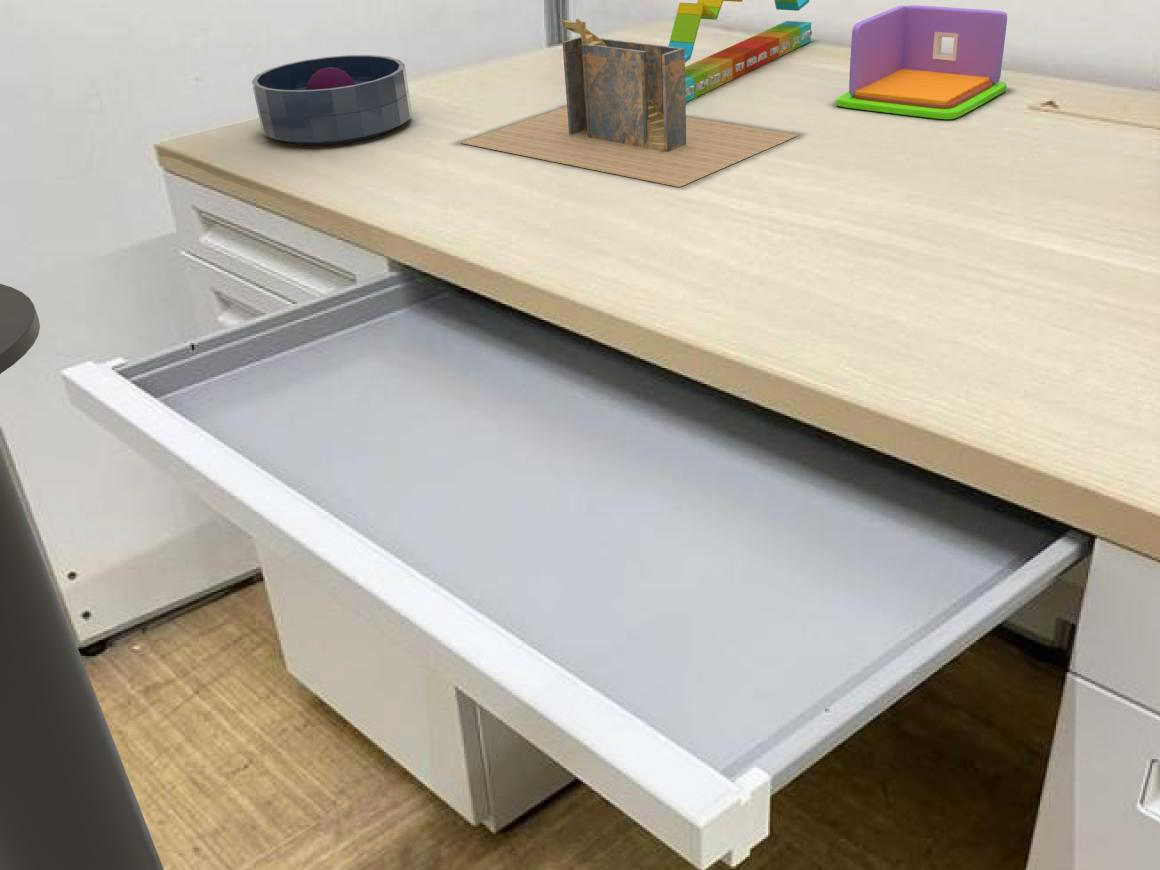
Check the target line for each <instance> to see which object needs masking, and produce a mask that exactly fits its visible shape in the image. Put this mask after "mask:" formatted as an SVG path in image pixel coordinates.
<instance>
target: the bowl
mask: <svg viewBox="0 0 1160 870" xmlns="http://www.w3.org/2000/svg"><path fill="white" fill-rule="evenodd" d="M327 67H334V68H338V69H341V70H343V71H344V72H346V73H347V74H348V75H350V77H351V78H352V79H353V80H354V82H355V84H356V85H351V86H344V87H337V88H330V89H317V90H307V85H308V82H309V80H310V78H311V77H312V75H313V74H314V73H315V72H317V71H318V70H320V69H323V68H327ZM251 85H252V89H253V94H254V100H255V104H256V108H257V113H258V118H259V122H260V127H261V130H262V132H263V134H264V136H266V137H268V138H270V139H272V140H273V139H274V140H275V141H276V140H277V141H284V142H286V143H290V144H294V145H295V144H296V145H301V146H304V145H305V146H328V145H329V146H330V145H338V144H347V143H353V142H359V141H363V140H367V139H371V138H375V137H378V136H381V135H383V134H386V133H389V132H390V131H392V130H393V129H395V128H397V127H399V126H402V125H403V124H405V123H406V122H407V121H409V120H410V119H411V116H412V114H413V111H412V105H411V104H412V103H411V96H410V91H409V82H408V76H407V69H406V64H405V63H404V62H403V61H402V60H401V59H398V58H394V57H390V56H386V55H385V56H384V55H373V54H347V55H334V56H333V55H332V56H324V57H323V56H322V57H317V58H309V59H303V60H298V61H293V62H289V63H285V64H281V65H278V66H275V67H272V68H268V69H266V70H264V71H262V72H260V73H258V74H256V75H255V76H254V77H253V79H252V80H251Z"/></svg>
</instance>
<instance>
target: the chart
mask: <svg viewBox="0 0 1160 870" xmlns="http://www.w3.org/2000/svg"><path fill="white" fill-rule="evenodd" d="M724 2H734V3H735V2H737V3H742V2H743V0H697V2H695V3H694V2H679V3H678V7H677V11H676V14H675V19H674V23H673V27H672V30H671V35H670V38H669V42H668V46H669V47H677V48H685V64H686V63H687V62H688V61H690V60H691V58H692V54H693V51H694V47H695V43H696V40H697V35H698V31H699V27H700V24H701V20H714V21H717V20H718V17H719V14H720V12H721V10H722V6H723V3H724ZM809 3H810V0H774V5H775V9H776V11H777V10H778V11H795V12H796V11H801V9H803V8H804V7H805V6H806V5H807V4H809ZM812 35H813V31H812V22H811V21H799V20H798V21H795V20H785V21H783V22H781V23H778V24H776V25H775V26H772V27H770V28H767V29H766V30H764V31H761V32H760V33H757V34H756V35H753V36H751V37H749V38H747V39H744V40H742V41H739V42H737V43H735V44H732V45H731V46H729V47H726V48H724V49H722V50H719V51H717V52H715V53H713V54H710V55H708V56H706V57H704V58H702V59H699V60H697V61H695V62H693V63H691V64H688V65H685V96H686V103H687V102H689V101H691V100H693V99H695V98H698V97H701V96H702V95H703V94H706V93H708V92H710V91H712V90H714V89H716V88H718V87H720V86H722V85H725V84H726V83H729V82H731V81H733V80H735V79H737V78H739V77H741V76H743V75H745V74H747V73H749V72H751V71H753V70H755V69H757V68H760V67H762V66H763V65H766V64H768V63H770V62H772V61H774V60H776V59H778V58H779V57H780V58H781V57H782V56H784V55H786V54H788V53H790V52H792V51H794V50H796V49H798V48H800V47H802V46H804V45H806V44H807V43H810V42H812V41H811V40H812Z"/></svg>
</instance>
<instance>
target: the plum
mask: <svg viewBox="0 0 1160 870" xmlns="http://www.w3.org/2000/svg"><path fill="white" fill-rule="evenodd" d="M351 85H356V84H355V82H354V80H353V79H352V78H351V77H350V75H348V74H347V73H346V72H344V71H343V70H341V69H338V68H334V67H327V68H323V69H320V70H318V71H317V72H315V73H314V74H313V75H312V77H311V78H310V80H309V82H308V85H307V90H317V89H330V88H337V87H344V86H351Z"/></svg>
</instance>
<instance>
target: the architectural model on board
mask: <svg viewBox="0 0 1160 870" xmlns="http://www.w3.org/2000/svg"><path fill="white" fill-rule="evenodd" d="M559 23H562V28H564V29H566V30H567V31H570V32H573V33H575V34H578V35H580V36H578V37H575V38H572V39H568V40H564V41H562V56H563V57H562V58H563V68H564V69H563V70H564V83H565V84H564V85H565V97H566V106H564V107H561V108H559V109H555V110H552V111H550V112H547V113H544V114H540V115H538V116H535V117H532V118H530V119H526V120H524V121H521V122H517V123H515V124H514V123H513V124H511V125H509V126H506V127H503V128H500V129H497V130H494V131H492V132H491V131H490V132H489V133H485V134H483V135H479V136H477V137H473V138H471V139H468V140H465V141H462V142H461V144H465V145H468V146H469V145H470V146H473V147H479V148H484V149H489V150H492V151H493V150H494V151H499V152H502V153H503V152H504V153H509V154H514V155H519V156H522V157H523V156H524V157H529V158H533V159H538V160H543V161H549V162H553V163H559V164H562V165H567V166H574V167H578V168H583V169H588V170H593V171H599V172H603V173H607V174H613V175H618V176H623V177H627V178H632V179H638V180H642V181H648V182H653V183H656V184H657V183H658V184H663V185H668V186H673V187H676V188H677V187H678V188H680V187H683V186H685V185H687V184H690V183H692V182H694V181H697V180H700V179H701V178H704V177H706V176H709V175H711V174H713V173H715V172H718V171H721V170H722V169H724V168H727V167H729V166H732V165H734V164H736V163H738V162H741V161H743V160H745V159H747V158H749V157H752V156H755V155H757V154H759V153H761V152H764V151H765V150H768V149H770V148H773V147H776V146H777V145H780V144H782V143H784V142H787V141H789V140H791V139H793V138H796V137H798V136H799V135H798V134H793V133H786V132H780V131H774V130H767V129H762V128H754V127H748V126H742V125H736V124H729V123H723V122H717V121H711V120H705V119H699V118H694V117H693V118H691V117H687V106H686V105H687V102H686V96H685V67H686V63H685V48H677V47H669V45H668V46H667V45H659V44H651V43H643V42H635V41H627V40H618V39H609V38H601V37H599V36H598V35H596V34H595V33H593V32H591V31H590V30H589V29H587V24H586V21H582V20H580V19H579V18H575V21H573V20H566V19H564V18H562V17H559Z"/></svg>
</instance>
